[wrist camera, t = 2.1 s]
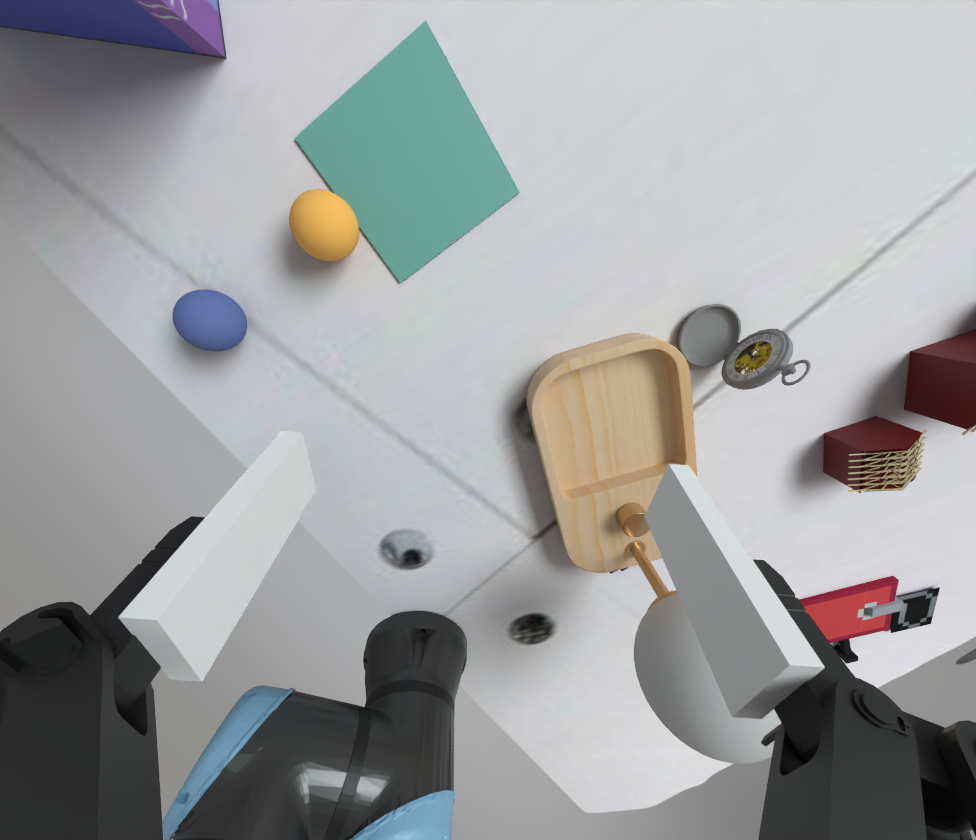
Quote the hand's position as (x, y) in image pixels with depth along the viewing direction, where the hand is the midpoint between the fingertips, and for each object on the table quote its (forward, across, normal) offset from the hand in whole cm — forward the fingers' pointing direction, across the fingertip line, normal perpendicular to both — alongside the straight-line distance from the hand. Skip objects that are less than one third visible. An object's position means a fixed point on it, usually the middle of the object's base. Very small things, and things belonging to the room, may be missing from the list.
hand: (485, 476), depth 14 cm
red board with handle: (+25, -62, +46) cm, 81 cm away
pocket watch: (+30, -25, +4) cm, 39 cm away
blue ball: (+23, +26, +4) cm, 35 cm away
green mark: (+29, +8, -10) cm, 32 cm away
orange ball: (+25, +15, -5) cm, 30 cm away
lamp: (+26, -17, +20) cm, 37 cm away
